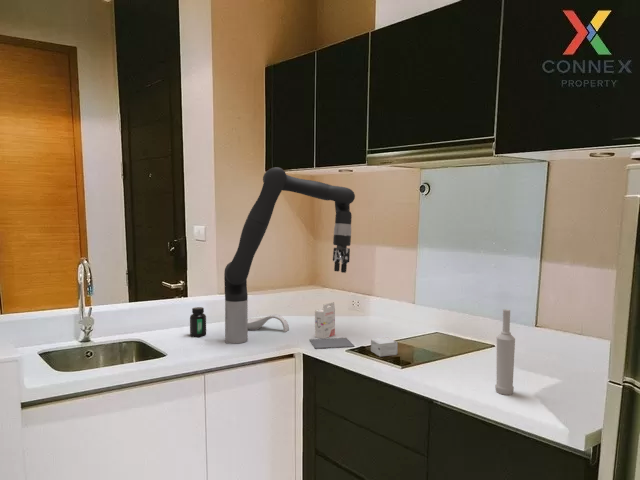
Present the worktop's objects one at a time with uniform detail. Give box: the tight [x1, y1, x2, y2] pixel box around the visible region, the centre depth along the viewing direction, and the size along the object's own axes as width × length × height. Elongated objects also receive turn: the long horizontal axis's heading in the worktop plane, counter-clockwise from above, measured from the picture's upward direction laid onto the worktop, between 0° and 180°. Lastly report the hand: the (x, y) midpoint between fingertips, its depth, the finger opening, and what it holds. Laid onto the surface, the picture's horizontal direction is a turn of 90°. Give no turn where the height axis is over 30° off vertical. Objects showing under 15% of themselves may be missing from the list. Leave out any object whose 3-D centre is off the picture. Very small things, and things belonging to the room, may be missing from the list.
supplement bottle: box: [189, 306, 207, 338], centre depth 212 cm, size 7×7×12 cm
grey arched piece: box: [248, 313, 290, 333], centre depth 225 cm, size 24×12×7 cm, turn 72°
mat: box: [308, 337, 356, 350], centre depth 200 cm, size 16×13×1 cm
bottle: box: [495, 308, 516, 396], centre depth 146 cm, size 5×5×25 cm
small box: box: [370, 336, 399, 358], centre depth 187 cm, size 8×8×5 cm
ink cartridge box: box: [314, 302, 336, 339], centre depth 212 cm, size 9×5×15 cm, turn 143°
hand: (340, 271), depth 211 cm, fingers open, 8 cm apart
